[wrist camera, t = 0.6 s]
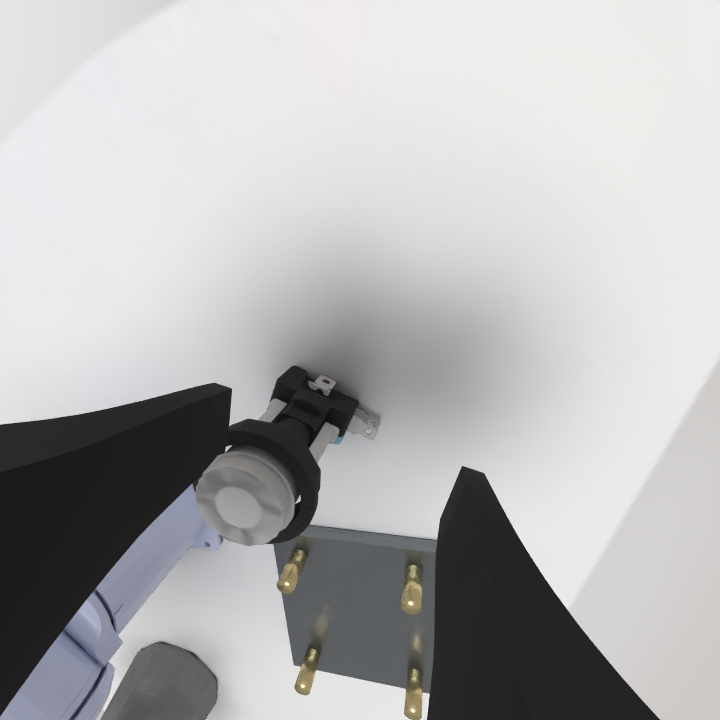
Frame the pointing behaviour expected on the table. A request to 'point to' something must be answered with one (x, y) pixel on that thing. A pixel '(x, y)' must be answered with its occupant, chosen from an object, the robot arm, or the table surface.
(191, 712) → the coffeepot
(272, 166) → the table surface
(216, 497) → the push button
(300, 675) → the chassis
